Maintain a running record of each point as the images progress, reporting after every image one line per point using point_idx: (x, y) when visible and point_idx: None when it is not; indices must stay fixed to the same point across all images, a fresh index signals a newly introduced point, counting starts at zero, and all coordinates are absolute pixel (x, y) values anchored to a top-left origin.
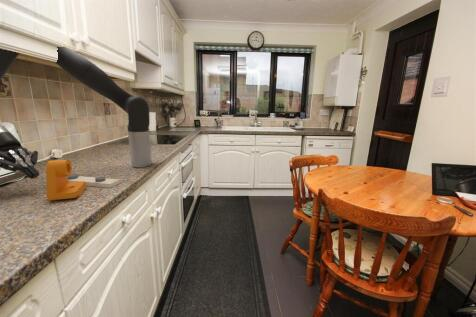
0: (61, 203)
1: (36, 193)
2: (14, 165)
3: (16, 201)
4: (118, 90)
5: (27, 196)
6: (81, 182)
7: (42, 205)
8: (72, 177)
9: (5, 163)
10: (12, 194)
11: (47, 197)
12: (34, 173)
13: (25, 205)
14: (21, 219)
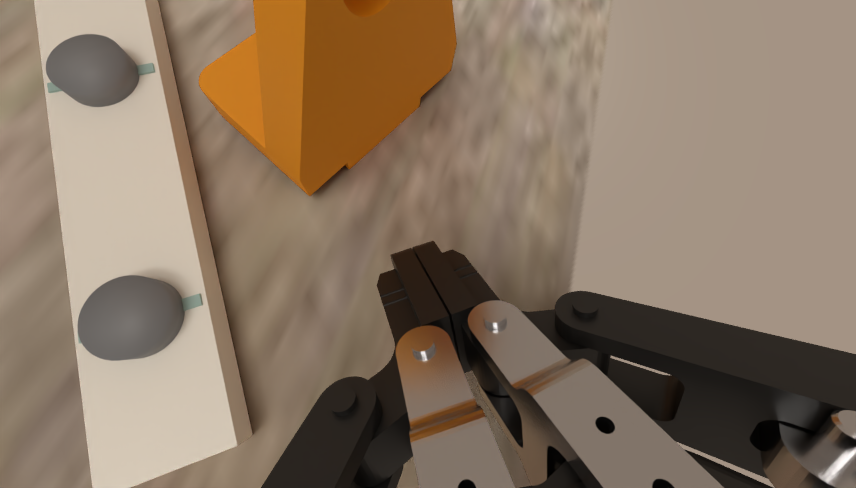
0: None
1: None
2: (617, 310)
3: (533, 227)
4: None
5: (476, 262)
6: (227, 75)
7: (475, 71)
8: (156, 279)
9: (742, 332)
10: None
11: (452, 56)
12: (428, 249)
13: (520, 133)
14: (565, 10)
